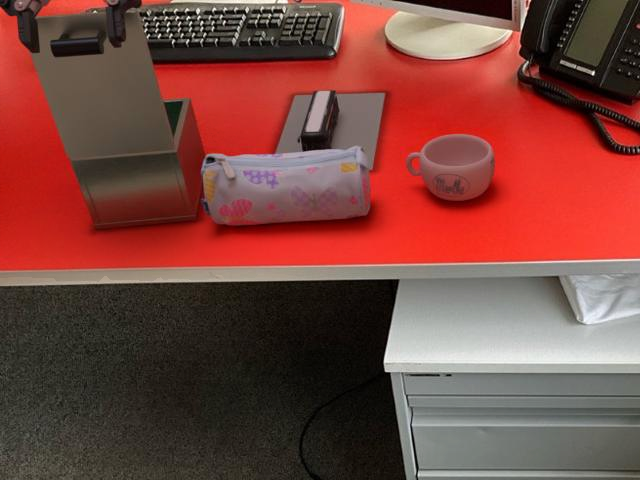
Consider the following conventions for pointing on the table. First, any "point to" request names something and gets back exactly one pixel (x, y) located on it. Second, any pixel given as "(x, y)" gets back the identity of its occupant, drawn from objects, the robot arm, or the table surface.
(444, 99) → the table surface
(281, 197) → the pencil case
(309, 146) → the flat grey base plate
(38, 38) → the robot arm
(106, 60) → the freezer lid
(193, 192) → the box
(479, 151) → the mug
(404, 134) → the table surface
